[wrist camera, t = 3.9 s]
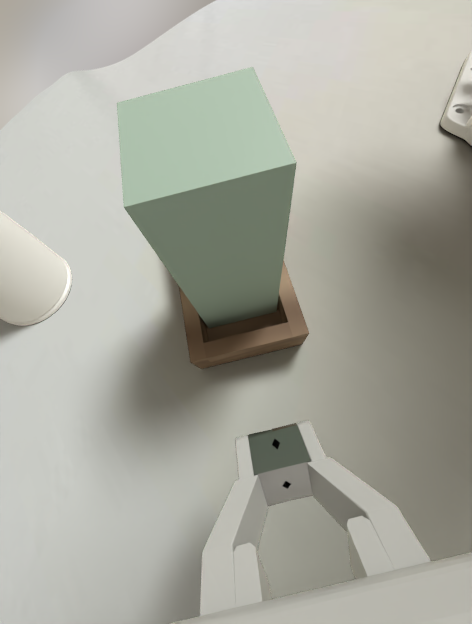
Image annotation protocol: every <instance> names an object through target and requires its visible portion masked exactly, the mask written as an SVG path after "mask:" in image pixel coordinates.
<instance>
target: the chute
mask: <svg viewBox="0 0 472 624" xmlns="http://www.w3.org/2000/svg"><path fill="white" fill-rule="evenodd" d="M179 291H180V297H181V304H182V310H183V317H184V323H185V330H186V336H187V343H188V349H189V356H190V362H191V363H192V364H194V365H196V366H197V367H199V368H201V369H204V368H208V367H212V366H216V365H220V364H224V363H228V362H232V361H236V360H240V359H244V358H248V357H252V356H256V355H261V354H265V353H269V352H273V351H277V350H281V349H285V348H289V347H293V346H297V345H301V344H303V342H304V341H305V339H306V337H307V336H308V334H309V331H308V328H307V326H306V323H305V320H304V317H303V314H302V311H301V309H300V306H299V303H298V300H297V297H296V294H295V292H294V289H293V286H292V283H291V280H290V277H289V274H288V272H287V269H286V266H285V263H284V260H283V266H282V274H281V281H280V289H279V296H278V303H277V311H276V312H274V313H270V314H266V315H262V316H258V317H254V318H250V319H245V320H241V321H237V322H233V323H229V324H225V325H221V326H217V327H213V328H208V326H207V325H206V324H205V322H204V321H203V319H202V318H201V316H200V315H199V314H198V312H197V311H196V309H195V308H194V306H193V305H192V304H191V302H190V301H189V299H188V298H187V296H186V295H185V294H184V292H183V291H182V289H181V288H180V286H179Z"/></svg>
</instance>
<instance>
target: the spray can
mask: <svg viewBox="0 0 472 624" xmlns="http://www.w3.org/2000/svg"><path fill="white" fill-rule="evenodd" d="M71 285H72V273H71V269H70V267H69V265H68V263H67V262H66V261H65V260H64V259H63V258H62V257H61V256H59V255H57V254H56V253H55V252H54V251H52V250H51V249H50V248H49V247H47V246H46V245H45V244H44V243H42V242H41V241H40V240H39V239H37V238H36V237H35V236H34V235H32V234H31V233H30V232H28V231H27V230H26V229H24V228H23V227H22V226H20V225H19V224H18V223H16V222H15V221H14V220H12V219H11V218H10V217H8V216H7V215H6V214H4V213H3V212H2V211H0V319H3V320H4V321H6V322H8V323H10V324H14V325H19V326H25V325H32V324H35V323H38V322H41V321H43V320H45V319H46V318H48V317H50V316H51V315H52V314H54V313H55V312H56V311H57V310H58V309H59V308H60V307H61V305H62V304H63V303H64V302H65V300H66V298H67V297H68V294H69V292H70V289H71Z"/></svg>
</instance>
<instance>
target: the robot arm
mask: <svg viewBox="0 0 472 624" xmlns="http://www.w3.org/2000/svg"><path fill="white" fill-rule="evenodd" d="M440 124H441V126H442V127H443V128H444V129H445V130H447V131H448V132H450V133H452V134H454V135H456V136H459V137H461V138H463V139H464V140H466V141H467V142H468V143H469V144H470V145H471V146H472V50H471V52H470V53H469V55H468V56H467V58H466V59H465V62H464V64H463V66H462V69H461V72H460V74H459V77H458V79H457V82H456V84H455V87H454V89H453V92H452V94H451V97H450V99H449V102H448V104H447V107H446V109H445V112H444V114H443V117H442V120H441V123H440ZM235 444H236V455H237V466H238V477H239V479H238V480H235V481H234V484H233V486H232V488H231V490H230V492H229V495H228V497H227V499H226V501H225V503H224V506H223V508H222V510H221V512H220V514H219V517H218V519H217V521H216V523H215V525H214V528H213V530H212V532H211V534H210V536H209V538H208V541H207V543H206V545H205V547H204V549H203V552H202V572H201V599H200V616H198V617H194V618H189V619H185V620H181V621H177V622H172V623H168V624H472V552H469V553H465V554H461V555H457V556H452V557H448V558H444V559H440V560H435V561H431V560H430V558H429V557H428V555H427V554H426V552H425V550H424V549H423V547H422V545H421V544H420V542H419V541H418V539H417V537H416V536H415V534H414V533H413V531H412V529H411V528H410V526H409V524H408V523H407V521H406V520H405V518H404V516H403V515H402V513H401V512H400V510H399V508H398V507H397V506H396V505H395V504H393V503H392V502H391V501H389V500H388V499H387V498H385V497H384V496H383V495H381V494H380V493H379V492H377V491H376V490H375V489H373V488H372V487H370V486H369V485H368V484H366V483H365V482H364V481H362V480H361V479H360V478H358V477H357V476H356V475H354V474H353V473H352V472H350V471H349V470H348V469H346V468H345V467H343V466H342V465H341V464H339V463H338V462H337V461H335V460H334V459H333V458H331V457H329V458H327V457H326V455H325V453H324V451H323V448H322V446H321V444H320V442H319V440H318V438H317V435H316V433H315V431H314V429H313V427H312V424H311V422H310V421H309V420H307V421H303V422H299V423H294V424H290V425H286V426H282V427H278V428H274V429H272V430H268V431H263V432H259V433H254V434H249V435H245V436H241V437H236V440H235ZM309 496H314V498H315V499H316V500H317V501H318V502H319V503H320V504H321V505H322V506H323V507H324V508H325V509H326V511H327V512H328V513H329V514H330V515H331V516H332V517H333V518H334V519H335V520H336V521H337V522H338V523H339V524H340V525H341V526H342V527H343V528H344V529H345V531H346V532H347V534H348V544H349V555H350V566H351V569H352V571H353V574H354V577H355V580H350V581H346V582H342V583H338V584H334V585H329V586H325V587H321V588H317V589H312V590H308V591H304V592H300V593H295V594H291V595H287V596H283V597H278V598H274V599H272V595H271V589H270V584H269V582H268V579H267V576H266V574H265V571H264V568H263V566H262V563H261V560H260V558H259V555H258V553H257V550H258V546H259V542H260V538H261V535H262V531H263V527H264V523H265V519H266V516H267V512H268V506H272V505H275V504H279V503H282V502H286V501H290V500H294V499H299V498H304V497H309Z"/></svg>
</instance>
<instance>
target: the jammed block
mask: <svg viewBox="0 0 472 624" xmlns="http://www.w3.org/2000/svg"><path fill="white" fill-rule="evenodd" d="M117 112H118V127H119V142H120V158H121V173H122V188H123V203H124V208H125V210H126V211H127V212H128V214H129V215H130V217H131V218H132V220H133V221H134V222H135V224H136V225H137V227H138V228H139V230H140V231H141V232H142V234H143V235H144V237H145V238H146V239H147V241H148V242H149V244H150V245H151V247H152V248H153V249H154V251H155V252H156V254H157V255H158V257H159V258H160V259H161V261H162V262H163V264H164V265H165V267H166V268H167V269H168V271H169V272H170V274H171V275H172V277H173V278H174V279H175V281H176V282H177V284H178V285H179V286H180V288H181V289H182V291H183V292H184V294H185V295H186V296H187V298H188V299H189V301H190V302H191V304H192V305H193V306H194V308H195V309H196V311H197V312H198V314H199V315H200V316H201V318H202V319H203V321H204V322H205V324H206V325H207V326H208V328H213V327H217V326H221V325H225V324H229V323H233V322H237V321H241V320H245V319H250V318H254V317H258V316H262V315H266V314H270V313H274V312H276V311H277V303H278V296H279V289H280V281H281V274H282V266H283V259H284V251H285V244H286V237H287V229H288V222H289V214H290V207H291V199H292V192H293V185H294V177H295V170H296V160H295V158H294V156H293V154H292V152H291V150H290V147H289V145H288V143H287V141H286V139H285V136H284V134H283V132H282V130H281V128H280V125H279V123H278V121H277V119H276V117H275V114H274V112H273V110H272V108H271V106H270V104H269V101H268V99H267V97H266V95H265V93H264V90H263V88H262V86H261V84H260V82H259V79H258V77H257V75H256V73H255V71H254V68H253V67H250V68H247V69H243V70H239V71H235V72H232V73H228V74H224V75H220V76H217V77H213V78H209V79H205V80H201V81H198V82H194V83H190V84H186V85H183V86H179V87H175V88H171V89H168V90H164V91H160V92H156V93H153V94H149V95H145V96H141V97H137V98H134V99H130V100H126V101H122V102H119V103H117Z"/></svg>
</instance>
